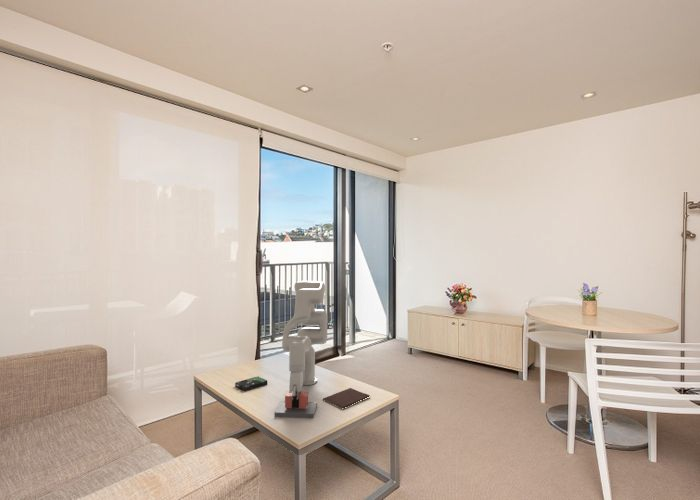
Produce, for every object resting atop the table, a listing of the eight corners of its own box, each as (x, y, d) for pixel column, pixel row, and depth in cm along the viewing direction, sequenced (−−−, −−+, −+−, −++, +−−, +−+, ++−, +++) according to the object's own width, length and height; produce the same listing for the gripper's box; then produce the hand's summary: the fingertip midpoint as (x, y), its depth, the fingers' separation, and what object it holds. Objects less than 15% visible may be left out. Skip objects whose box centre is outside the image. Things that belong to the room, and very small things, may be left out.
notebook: (322, 401, 181) (322, 397, 181) (349, 390, 194) (349, 386, 194) (342, 410, 170) (342, 406, 170) (370, 399, 184) (370, 395, 184)
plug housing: (287, 402, 170) (287, 391, 170) (307, 403, 170) (308, 392, 170) (285, 407, 165) (285, 395, 165) (306, 408, 165) (306, 396, 165)
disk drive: (244, 392, 190) (267, 385, 201) (244, 387, 190) (267, 380, 201) (234, 387, 197) (258, 380, 208) (234, 382, 197) (258, 375, 208)
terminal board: (281, 405, 174) (281, 393, 174) (317, 406, 173) (317, 394, 173) (274, 416, 162) (274, 403, 162) (313, 418, 161) (313, 405, 161)
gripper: (293, 360, 176) (292, 396, 176) (285, 372, 159) (284, 412, 159) (307, 361, 176) (307, 397, 176) (301, 373, 159) (301, 413, 159)
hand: (296, 404), depth 167 cm, fingers closed on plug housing, 5 cm apart
